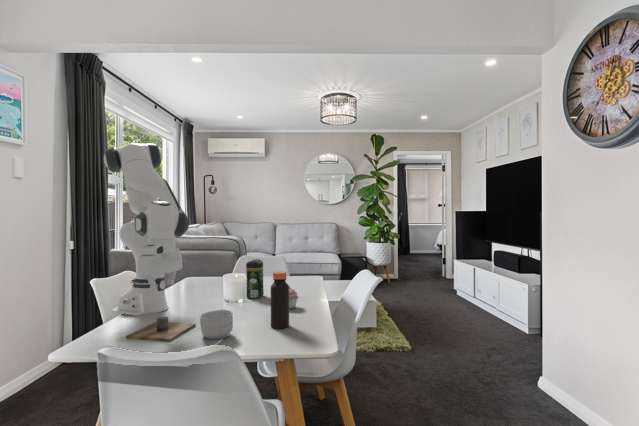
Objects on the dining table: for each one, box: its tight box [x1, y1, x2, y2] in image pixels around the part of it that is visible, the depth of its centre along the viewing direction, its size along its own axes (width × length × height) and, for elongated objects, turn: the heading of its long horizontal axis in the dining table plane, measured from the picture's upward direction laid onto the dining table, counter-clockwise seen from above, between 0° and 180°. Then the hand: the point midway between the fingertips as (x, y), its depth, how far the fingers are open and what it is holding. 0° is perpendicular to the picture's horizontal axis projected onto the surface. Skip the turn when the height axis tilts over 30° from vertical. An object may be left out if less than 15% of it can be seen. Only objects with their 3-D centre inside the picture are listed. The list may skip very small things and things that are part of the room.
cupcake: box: [289, 285, 299, 310], centre depth 161 cm, size 9×9×10 cm
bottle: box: [270, 270, 290, 330], centre depth 134 cm, size 7×7×20 cm
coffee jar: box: [245, 259, 264, 300], centre depth 182 cm, size 10×8×19 cm
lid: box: [125, 316, 197, 342], centre depth 127 cm, size 16×16×5 cm
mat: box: [116, 324, 201, 345], centre depth 127 cm, size 20×20×1 cm
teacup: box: [199, 308, 234, 340], centre depth 125 cm, size 14×11×8 cm
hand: (162, 287), depth 126 cm, fingers open, 8 cm apart
